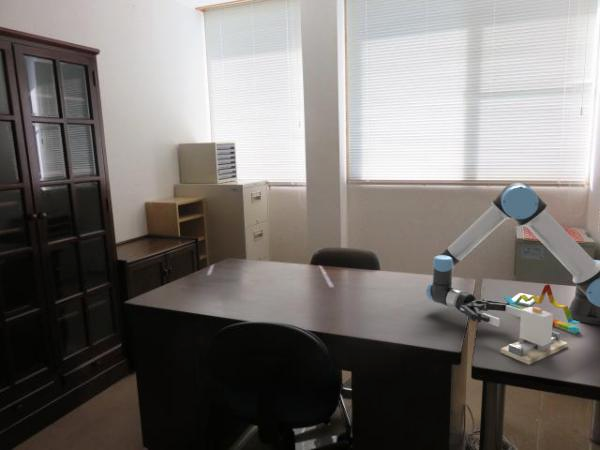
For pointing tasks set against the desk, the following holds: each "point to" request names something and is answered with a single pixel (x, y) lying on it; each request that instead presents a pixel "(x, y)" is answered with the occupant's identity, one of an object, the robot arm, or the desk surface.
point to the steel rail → (529, 345)
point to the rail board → (535, 352)
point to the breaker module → (536, 327)
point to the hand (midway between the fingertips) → (511, 318)
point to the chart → (547, 289)
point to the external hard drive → (523, 300)
